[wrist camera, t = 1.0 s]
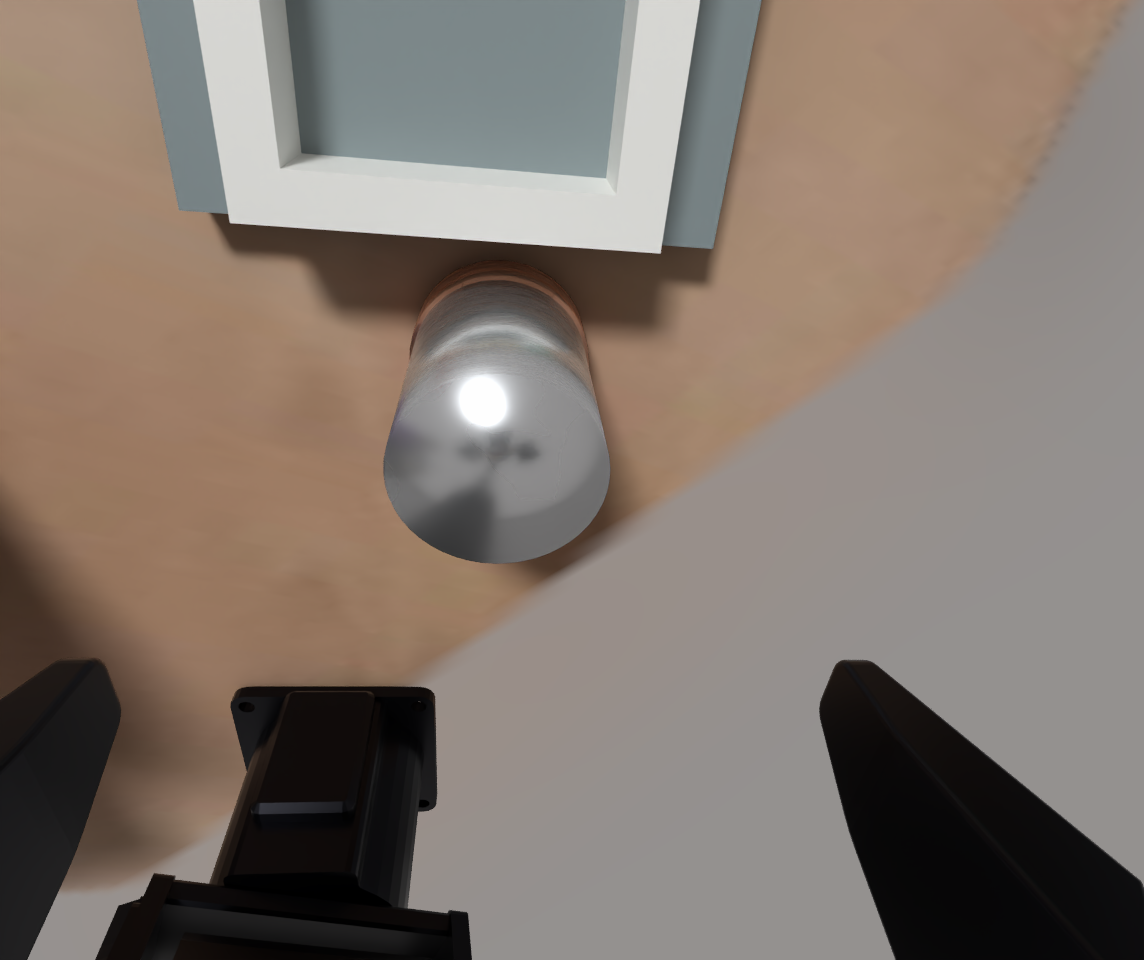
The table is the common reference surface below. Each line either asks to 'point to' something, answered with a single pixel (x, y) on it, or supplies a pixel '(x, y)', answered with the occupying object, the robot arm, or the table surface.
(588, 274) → the table surface
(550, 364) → the metal cylinder
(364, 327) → the table surface
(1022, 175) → the table surface
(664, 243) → the grey double slot tray
